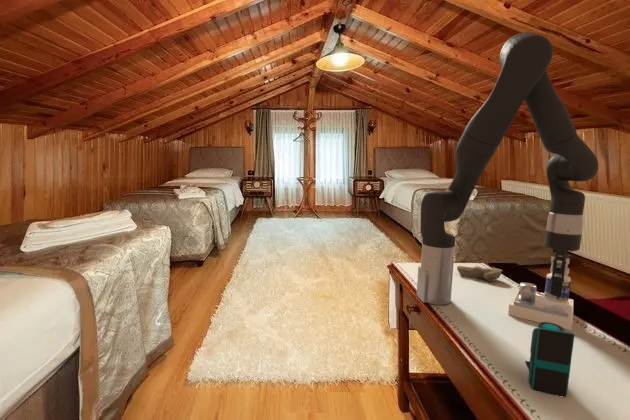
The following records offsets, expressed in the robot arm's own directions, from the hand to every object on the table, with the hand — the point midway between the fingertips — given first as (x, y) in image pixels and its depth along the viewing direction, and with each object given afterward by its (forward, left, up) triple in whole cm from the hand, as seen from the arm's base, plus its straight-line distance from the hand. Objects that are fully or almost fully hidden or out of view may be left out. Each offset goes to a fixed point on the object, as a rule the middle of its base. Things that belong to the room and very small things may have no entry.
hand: (556, 292), depth 89 cm
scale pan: (-2, +2, -4) cm, 5 cm away
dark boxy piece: (-22, -25, -8) cm, 34 cm away
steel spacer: (-5, +4, -4) cm, 7 cm away
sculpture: (-3, +33, -8) cm, 34 cm away
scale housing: (-1, +4, -7) cm, 8 cm away
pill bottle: (0, 0, -2) cm, 2 cm away
